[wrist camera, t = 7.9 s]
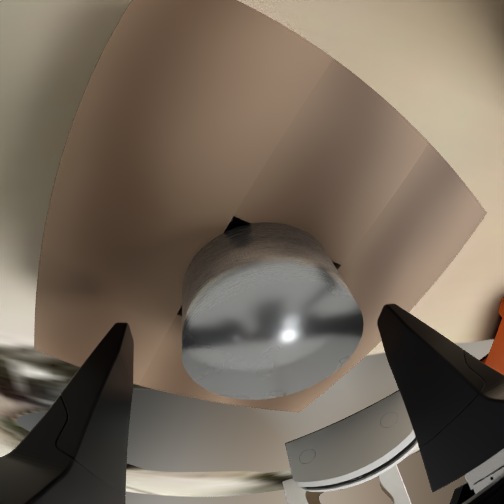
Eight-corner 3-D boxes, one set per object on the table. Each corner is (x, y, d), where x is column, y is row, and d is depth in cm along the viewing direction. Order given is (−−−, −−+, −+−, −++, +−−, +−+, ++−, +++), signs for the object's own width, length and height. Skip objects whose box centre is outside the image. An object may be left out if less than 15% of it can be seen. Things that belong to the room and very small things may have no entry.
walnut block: (429, 173, 15) (486, 212, 11) (282, 354, 22) (299, 412, 18) (171, 3, 9) (154, -33, 5) (61, 285, 16) (34, 348, 12)
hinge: (299, 450, 36) (304, 507, 27) (282, 435, 35) (285, 496, 26) (408, 398, 33) (435, 453, 23) (399, 379, 32) (428, 436, 22)
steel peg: (319, 206, 15) (395, 312, 9) (261, 287, 17) (295, 406, 11) (219, 154, 13) (240, 248, 7) (168, 252, 15) (156, 382, 9)
